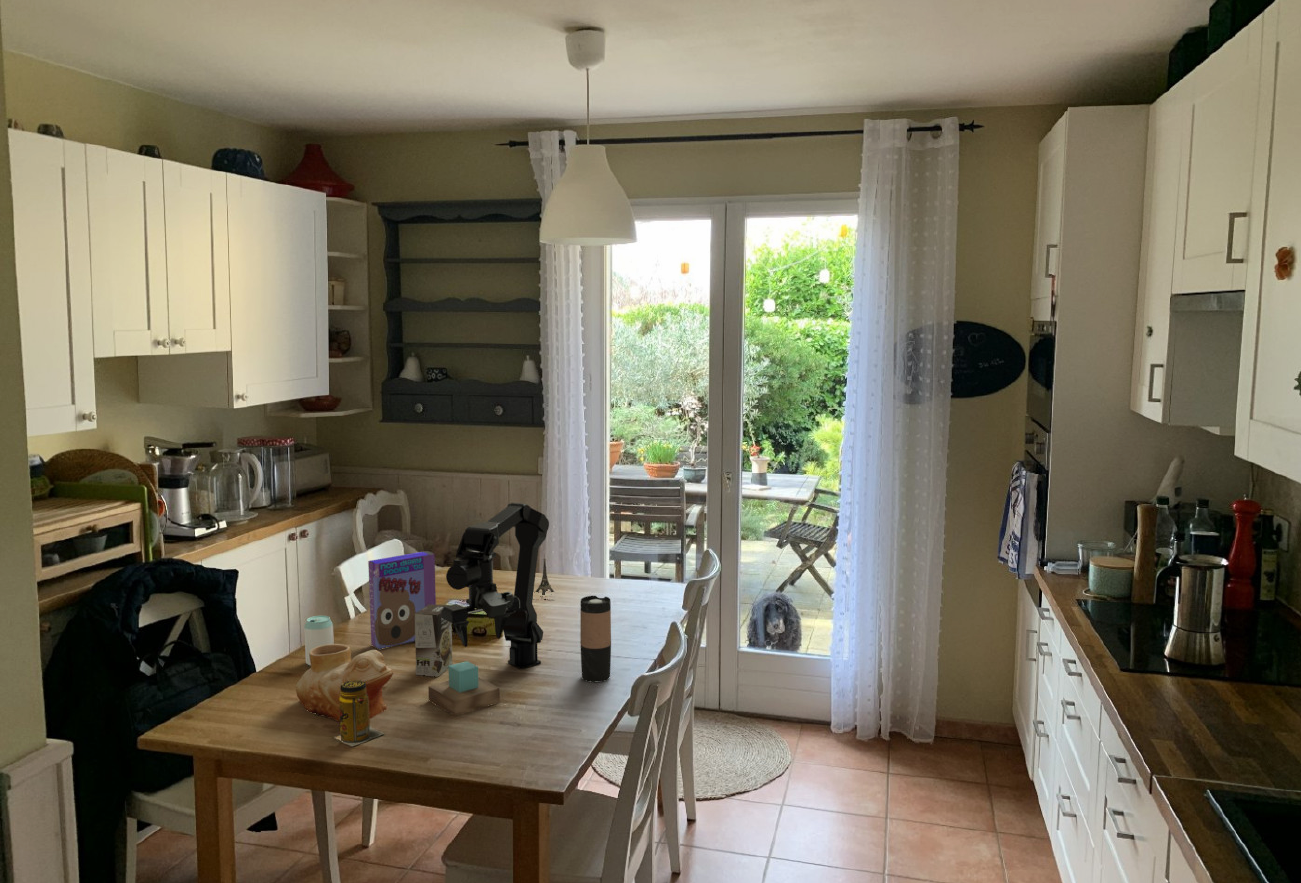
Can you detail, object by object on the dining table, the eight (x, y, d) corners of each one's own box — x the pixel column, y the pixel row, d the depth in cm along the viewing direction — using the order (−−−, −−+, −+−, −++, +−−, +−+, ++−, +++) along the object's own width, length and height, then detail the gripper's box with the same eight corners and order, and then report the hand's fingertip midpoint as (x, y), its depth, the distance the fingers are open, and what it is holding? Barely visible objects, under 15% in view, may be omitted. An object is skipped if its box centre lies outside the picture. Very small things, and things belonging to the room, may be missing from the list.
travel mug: (588, 684, 241) (587, 605, 239) (575, 674, 248) (575, 597, 245) (616, 679, 245) (616, 601, 242) (603, 669, 251) (603, 593, 249)
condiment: (332, 738, 211) (330, 684, 209) (366, 725, 217) (364, 673, 216) (351, 747, 206) (349, 692, 204) (386, 734, 212) (384, 681, 211)
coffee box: (439, 677, 246) (437, 614, 244) (415, 675, 247) (413, 613, 245) (453, 664, 255) (452, 604, 253) (430, 663, 256) (428, 603, 254)
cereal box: (379, 649, 266) (376, 563, 263) (371, 645, 270) (368, 560, 267) (436, 636, 278) (434, 553, 275) (428, 632, 281) (426, 550, 278)
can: (325, 669, 252) (323, 623, 250) (300, 667, 253) (298, 621, 252) (339, 659, 259) (337, 615, 257) (315, 657, 260) (313, 613, 259)
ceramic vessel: (362, 733, 213) (360, 666, 211) (283, 708, 227) (280, 645, 225) (409, 711, 225) (407, 648, 223) (331, 688, 239) (328, 629, 237)
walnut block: (473, 689, 239) (472, 674, 239) (500, 704, 230) (499, 688, 230) (428, 702, 231) (428, 686, 231) (454, 718, 222) (454, 701, 222)
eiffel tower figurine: (532, 588, 328) (531, 549, 327) (562, 589, 328) (561, 550, 326) (524, 601, 313) (523, 560, 312) (555, 602, 313) (555, 561, 311)
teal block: (467, 681, 234) (467, 661, 233) (478, 687, 230) (478, 666, 229) (448, 686, 231) (448, 665, 230) (459, 692, 227) (459, 671, 226)
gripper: (464, 593, 222) (465, 660, 224) (532, 579, 234) (533, 642, 236) (439, 583, 230) (441, 647, 232) (506, 569, 242) (507, 631, 244)
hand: (482, 642), depth 236 cm, fingers open, 9 cm apart
